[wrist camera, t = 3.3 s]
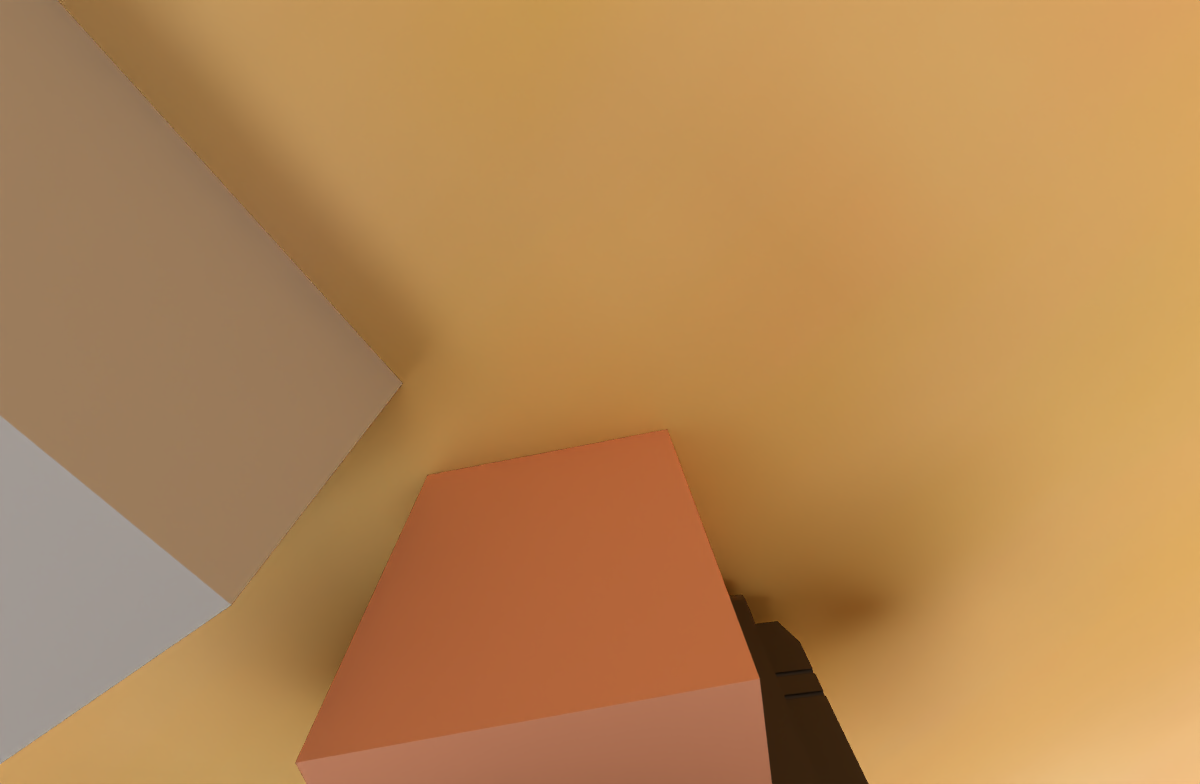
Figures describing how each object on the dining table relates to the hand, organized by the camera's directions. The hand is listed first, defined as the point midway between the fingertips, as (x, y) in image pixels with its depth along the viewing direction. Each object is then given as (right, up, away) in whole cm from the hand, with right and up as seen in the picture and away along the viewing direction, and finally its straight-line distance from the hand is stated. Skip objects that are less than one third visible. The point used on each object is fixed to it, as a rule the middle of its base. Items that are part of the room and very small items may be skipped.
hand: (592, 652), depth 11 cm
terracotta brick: (0, 0, 0) cm, 0 cm away
